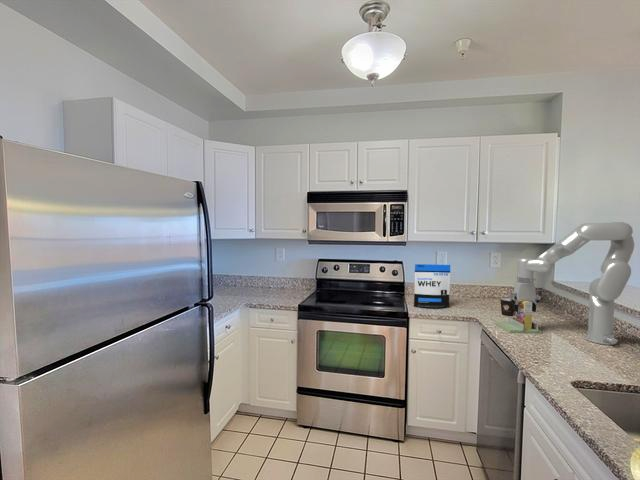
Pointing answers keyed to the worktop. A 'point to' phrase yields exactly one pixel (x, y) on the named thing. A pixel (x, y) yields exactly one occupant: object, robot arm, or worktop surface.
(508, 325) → the deck plate
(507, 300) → the coffee mug
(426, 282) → the protein powder
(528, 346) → the worktop surface
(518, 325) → the side bracket
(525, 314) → the candy box
